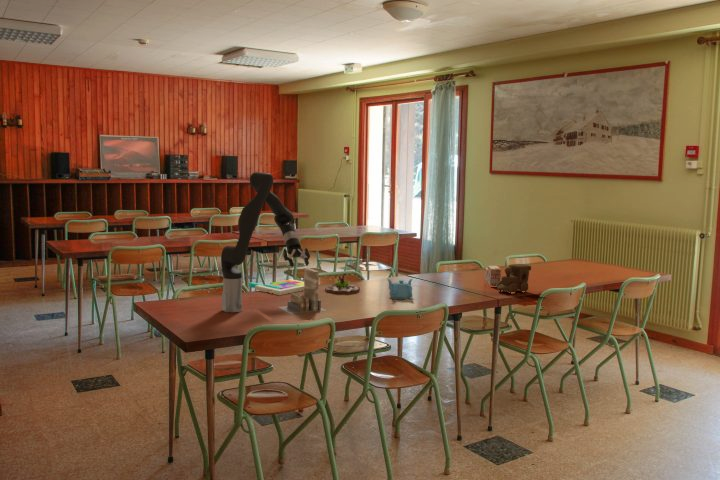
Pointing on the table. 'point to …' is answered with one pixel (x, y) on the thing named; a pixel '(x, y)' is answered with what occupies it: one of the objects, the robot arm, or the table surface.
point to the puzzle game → (280, 287)
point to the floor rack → (295, 308)
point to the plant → (342, 287)
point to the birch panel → (311, 286)
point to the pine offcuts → (300, 301)
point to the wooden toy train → (515, 278)
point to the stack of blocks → (493, 275)
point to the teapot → (400, 289)
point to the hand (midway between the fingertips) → (300, 265)
